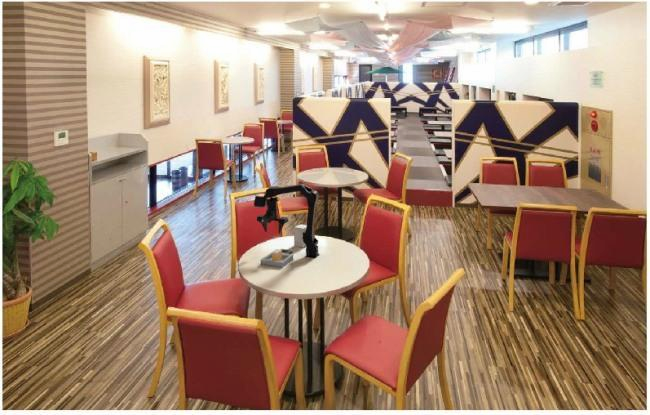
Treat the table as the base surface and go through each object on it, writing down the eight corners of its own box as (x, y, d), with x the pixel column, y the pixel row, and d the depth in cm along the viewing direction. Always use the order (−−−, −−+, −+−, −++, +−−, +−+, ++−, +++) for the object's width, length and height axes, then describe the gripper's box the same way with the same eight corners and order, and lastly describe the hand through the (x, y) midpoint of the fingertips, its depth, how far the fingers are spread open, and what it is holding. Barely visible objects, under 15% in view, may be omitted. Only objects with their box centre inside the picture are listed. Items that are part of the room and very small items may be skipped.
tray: (293, 259, 304) (293, 254, 304) (282, 267, 292) (282, 262, 291) (272, 256, 309) (271, 252, 309) (260, 264, 297) (260, 259, 296)
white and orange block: (282, 259, 302) (281, 249, 301) (277, 262, 297) (277, 253, 296) (276, 258, 304) (276, 249, 302) (272, 262, 298) (271, 252, 297)
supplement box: (302, 247, 325) (302, 228, 322) (293, 245, 329) (293, 226, 326) (310, 244, 331) (309, 225, 327) (301, 242, 335) (300, 223, 332)
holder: (292, 252, 317) (292, 250, 317) (285, 257, 308) (285, 255, 308) (281, 250, 320) (281, 248, 320) (273, 255, 311) (273, 253, 311)
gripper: (251, 209, 304) (252, 235, 308) (279, 212, 298) (280, 238, 302) (260, 205, 314) (261, 229, 318) (288, 207, 308) (289, 233, 312)
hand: (272, 232), depth 312 cm, fingers open, 9 cm apart
